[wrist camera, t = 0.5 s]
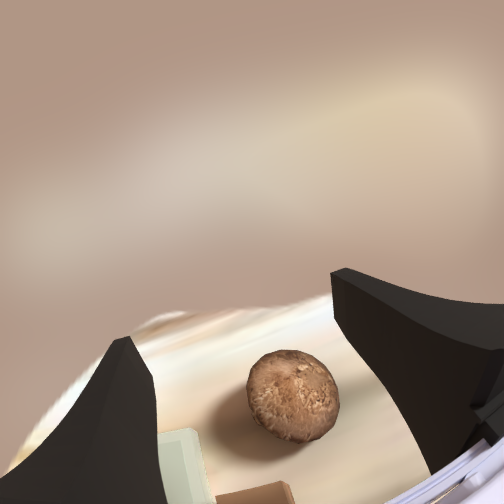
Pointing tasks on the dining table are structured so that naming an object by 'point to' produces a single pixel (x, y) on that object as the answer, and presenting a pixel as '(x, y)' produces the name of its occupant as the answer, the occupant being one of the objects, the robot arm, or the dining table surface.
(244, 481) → the dining table surface
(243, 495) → the walnut block
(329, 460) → the dining table surface
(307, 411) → the mushroom
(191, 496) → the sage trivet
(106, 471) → the robot arm
